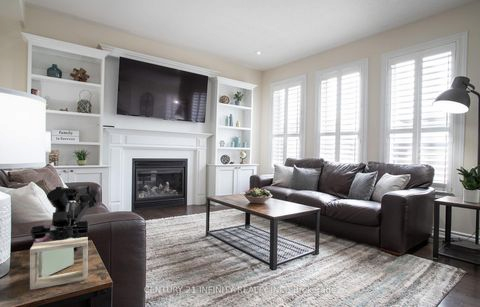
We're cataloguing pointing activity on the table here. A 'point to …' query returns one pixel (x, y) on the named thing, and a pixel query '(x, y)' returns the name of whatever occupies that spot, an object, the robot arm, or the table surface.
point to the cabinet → (60, 278)
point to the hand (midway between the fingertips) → (59, 249)
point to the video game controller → (43, 240)
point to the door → (55, 260)
